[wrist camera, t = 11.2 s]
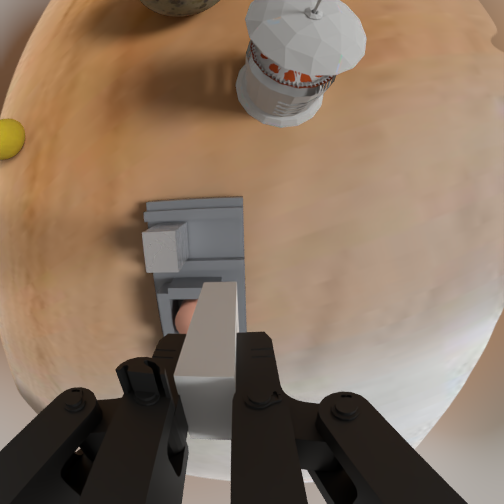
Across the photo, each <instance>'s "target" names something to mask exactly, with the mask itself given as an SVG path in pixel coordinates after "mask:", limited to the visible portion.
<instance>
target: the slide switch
mask: <svg viewBox="0 0 504 504" xmlns="http://www.w3.org/2000/svg"><path fill="white" fill-rule="evenodd" d="M142 239H143V248H144V257H145V265H146V272H147V273H161V272H179V271H180V269H181V268H182V266H183V265H184V263H185V262H186V260H187V259H188V257H189V248H188V235H187V222H173V223H158V224H156V225H154V226H153V227H151V228H149V229H147V230H145V231H144V232H142Z"/></svg>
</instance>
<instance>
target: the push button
mask: <svg viewBox="0 0 504 504" xmlns="http://www.w3.org/2000/svg"><path fill="white" fill-rule="evenodd" d="M197 301H198V299H184V300H183V302H182V304H181V306H180V308H179V311H178V313H177V315H176V318H175V325H176V328H177V330H178V332H179V333H180V334H187V331H188V328H189V325H190V322H191V319H192V316H193V313H194V310H195V307H196V304H197Z"/></svg>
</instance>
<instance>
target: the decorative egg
mask: <svg viewBox="0 0 504 504" xmlns="http://www.w3.org/2000/svg"><path fill="white" fill-rule="evenodd" d="M140 1H141V2H142V3H143V4H144V5H145V6H146V7H148V8H149V9H151V10H152V11H154V12H157V13H159V14H162V15H166V16H174V17H182V16H190V15H194V14H198V13H200V12H203V11H205V10H207V9H209V8H210V7H212V6H213V5H215V4H216V3H217V2H219V1H220V0H140Z"/></svg>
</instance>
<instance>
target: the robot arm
mask: <svg viewBox="0 0 504 504" xmlns="http://www.w3.org/2000/svg"><path fill="white" fill-rule="evenodd" d="M116 373H117V376H118V378H119V381H120V384H121V386H122V389H123V392H124V395H123V397H122V398H117V399H107V400H97V399H96V397H95V395H94V393H93V392H91V391H90V390H89V389H86V388H82V387H78V388H71V389H68V390H66V391H64V392H63V393H61V394H60V395H59V396H57V397H56V398H55V399H54V400H53V401H52V402H51V403H50V404H49V405H48V406H47V407H46V408H45V409H44V410H43V411H41V412H40V413H39V414H38V415H37V416H36V417H35V418H34V419H33V420H32V421H31V422H30V423H29V424H28V425H27V426H26V427H25V428H24V429H23V430H22V431H21V432H20V433H19V434H17V435H16V437H14V438H13V439H12V440H11V441H10V442H9V443H8V444H7V445H6V446H5V447H4V448H3V449H2V450H1V451H0V504H182V497H183V489H184V481H185V474H186V467H187V460H188V453H189V452H188V445H187V442H186V438H187V432H189V435H190V438H193V439H217V440H231V504H308V502H307V497H306V492H305V487H304V482H303V477H302V472H301V469H306V470H308V472H309V474H310V476H311V477H312V479H313V481H314V482H315V484H316V486H317V488H318V489H319V491H320V493H321V494H322V496H323V497H324V499H325V501H326V502H327V504H468V503H467V502H466V501H465V500H464V499H463V498H462V497H461V496H459V494H458V493H456V491H454V490H453V488H452V487H450V486H449V484H447V482H446V481H445V480H444V479H443V478H442V477H441V476H440V475H439V474H438V473H437V472H436V471H435V470H434V469H432V467H431V466H430V465H429V464H428V463H427V462H426V461H425V460H424V459H423V458H422V457H421V456H420V455H419V454H418V453H417V452H416V451H415V450H414V449H413V448H412V447H411V446H410V445H409V444H408V443H407V442H406V440H405V439H404V438H403V437H402V436H401V435H400V434H399V433H398V432H397V431H396V430H395V429H394V428H393V427H392V426H391V425H390V424H389V423H388V422H387V421H386V420H385V418H384V417H383V416H382V415H381V414H380V413H379V412H378V411H377V410H376V409H375V408H374V407H373V406H372V405H371V404H370V403H369V402H368V400H366V399H365V398H363V397H362V396H361V395H358V394H355V393H352V392H337V393H332V394H330V395H328V396H327V397H325V398H324V399H323V400H322V401H321V402H320V404H317V403H308V402H302V401H298V400H295V399H293V398H291V397H289V396H288V395H287V394H285V392H284V391H283V390H282V388H281V385H280V381H279V375H278V370H277V365H276V360H275V355H274V350H273V344H272V339H271V338H270V337H269V336H268V335H267V334H266V333H265V332H242V333H239V321H238V299H237V282H204V284H203V287H202V290H201V293H200V296H199V298H198V301H197V304H196V307H195V310H194V313H193V316H192V319H191V322H190V325H189V328H188V331H187V334H171V333H168V334H167V335H166V336H165V337H163V338H162V339H161V340H160V341H159V343H158V345H157V347H156V351H155V352H154V354H153V358H149V357H137V358H133V359H129V360H127V361H125V362H123V363H122V364H120V365H119V366H118V367H117V368H116ZM78 447H80V448H81V449H80V450H78V451H77V452H75V451H76V449H77V448H78Z"/></svg>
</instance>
